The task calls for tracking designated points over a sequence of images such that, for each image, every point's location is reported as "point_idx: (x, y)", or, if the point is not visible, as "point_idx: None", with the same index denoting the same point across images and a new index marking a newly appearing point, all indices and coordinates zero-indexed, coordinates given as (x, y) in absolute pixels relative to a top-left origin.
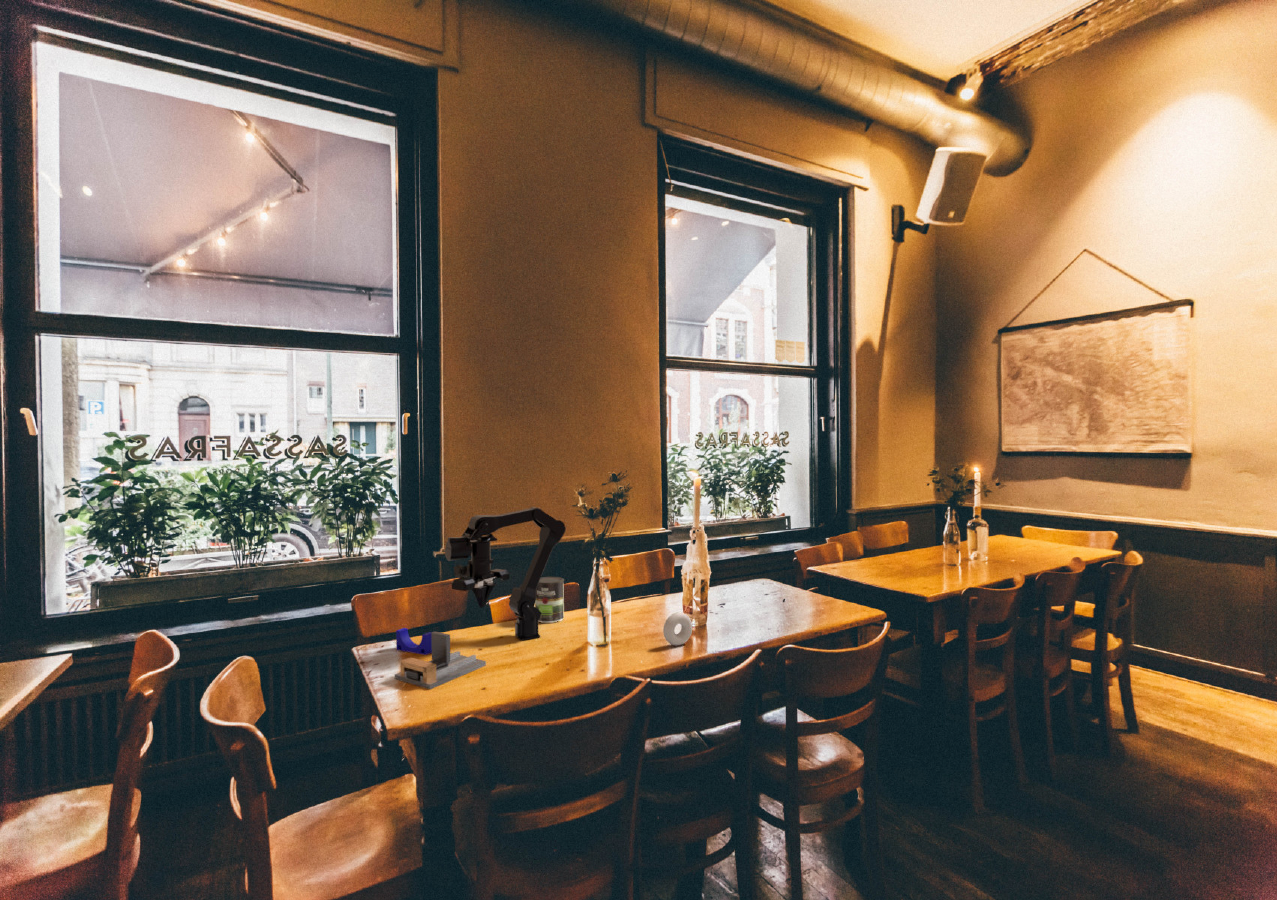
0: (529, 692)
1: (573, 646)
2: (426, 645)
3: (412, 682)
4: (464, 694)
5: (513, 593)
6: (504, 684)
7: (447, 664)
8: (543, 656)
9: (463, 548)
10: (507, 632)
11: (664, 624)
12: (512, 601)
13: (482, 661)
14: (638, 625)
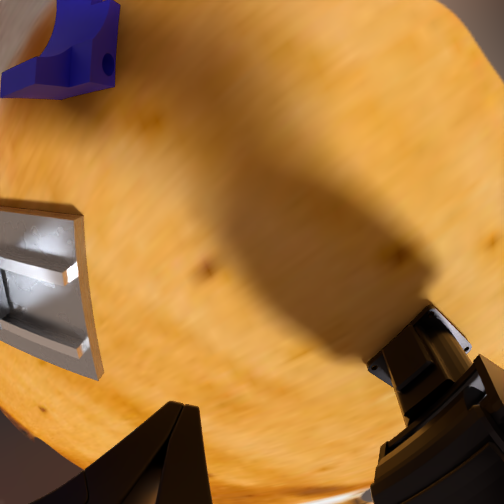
0: None
1: (344, 478)
2: (36, 98)
3: None
4: (12, 387)
5: (490, 496)
6: (76, 435)
7: (2, 316)
8: (245, 462)
9: None
10: (465, 240)
11: None
12: (451, 465)
13: (90, 374)
14: None
